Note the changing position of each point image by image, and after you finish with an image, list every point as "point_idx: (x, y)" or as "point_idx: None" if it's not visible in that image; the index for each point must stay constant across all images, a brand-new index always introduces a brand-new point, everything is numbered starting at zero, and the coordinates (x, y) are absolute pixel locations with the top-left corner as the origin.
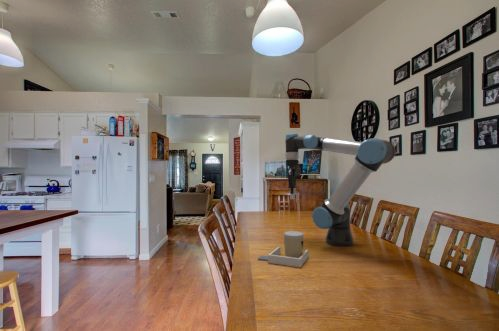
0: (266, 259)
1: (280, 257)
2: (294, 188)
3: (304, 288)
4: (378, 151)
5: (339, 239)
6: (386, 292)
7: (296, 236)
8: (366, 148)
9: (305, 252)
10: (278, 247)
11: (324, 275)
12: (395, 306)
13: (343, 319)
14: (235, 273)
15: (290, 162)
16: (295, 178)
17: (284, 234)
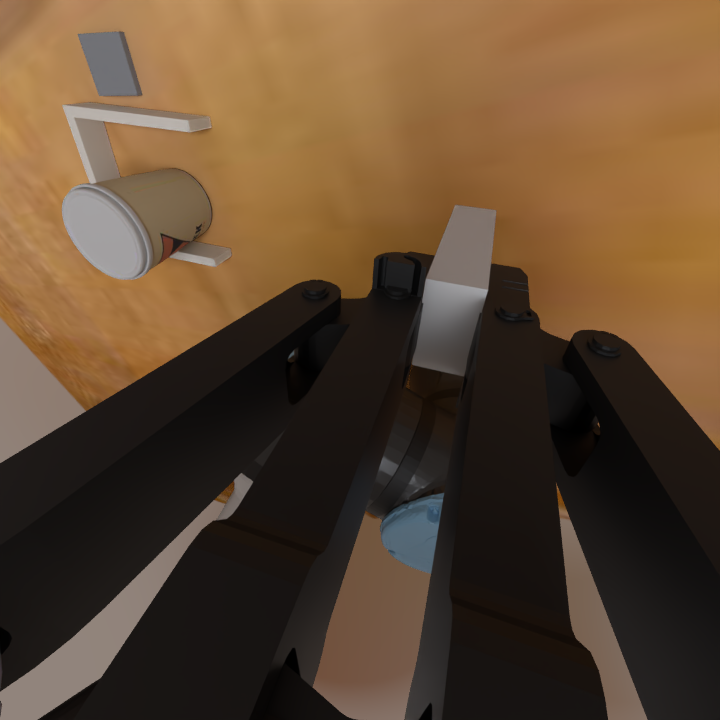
0: (96, 87)
1: (87, 167)
2: (423, 364)
3: (38, 254)
4: None
5: (410, 389)
6: None
7: (83, 252)
8: None
9: (180, 257)
10: (173, 125)
11: (127, 299)
12: (96, 386)
13: (9, 314)
14: None
15: None
16: (620, 638)
17: (69, 193)
